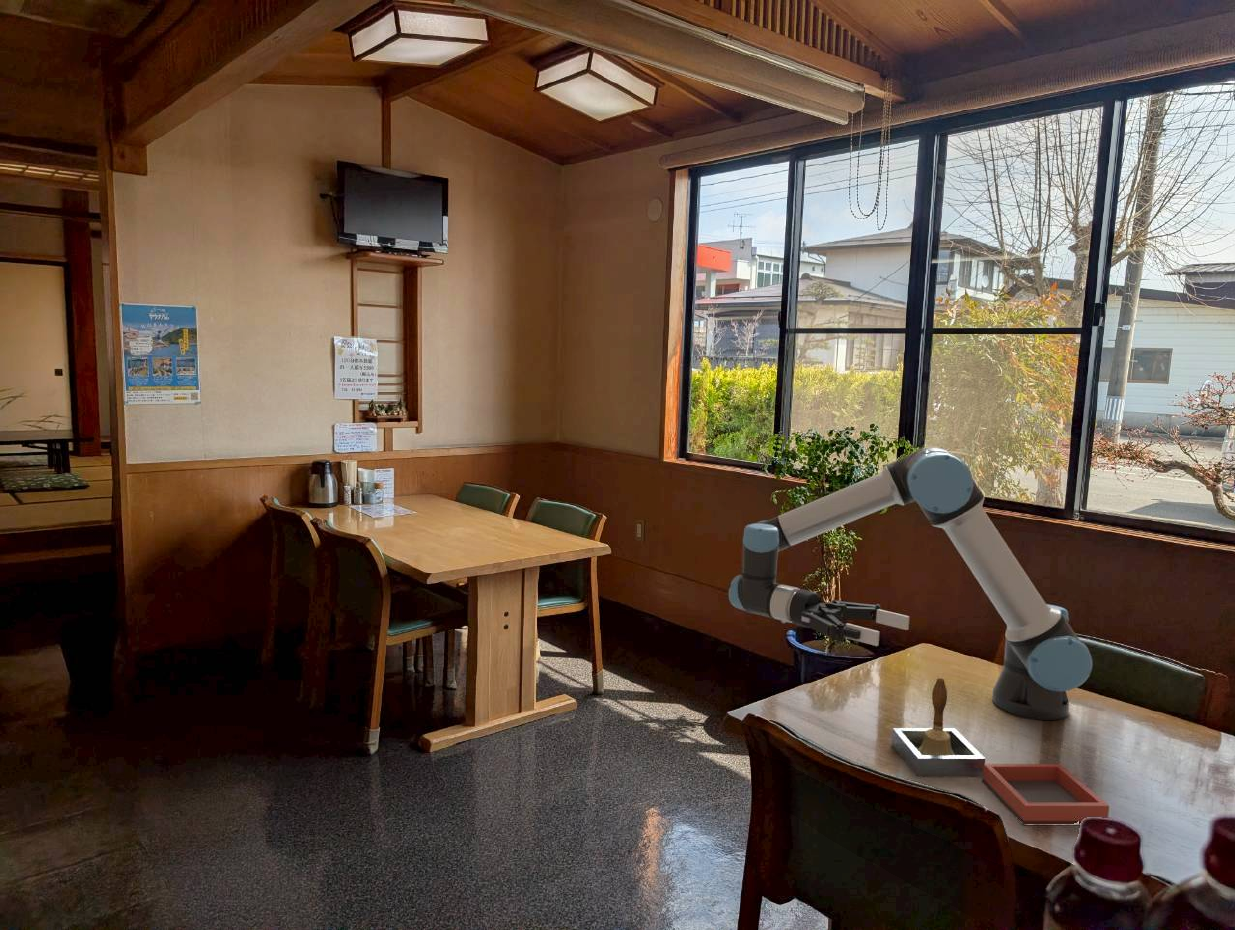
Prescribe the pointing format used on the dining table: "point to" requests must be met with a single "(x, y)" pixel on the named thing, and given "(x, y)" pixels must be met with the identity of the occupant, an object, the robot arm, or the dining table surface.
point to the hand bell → (937, 725)
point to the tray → (1043, 793)
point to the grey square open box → (957, 765)
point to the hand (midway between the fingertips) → (893, 630)
